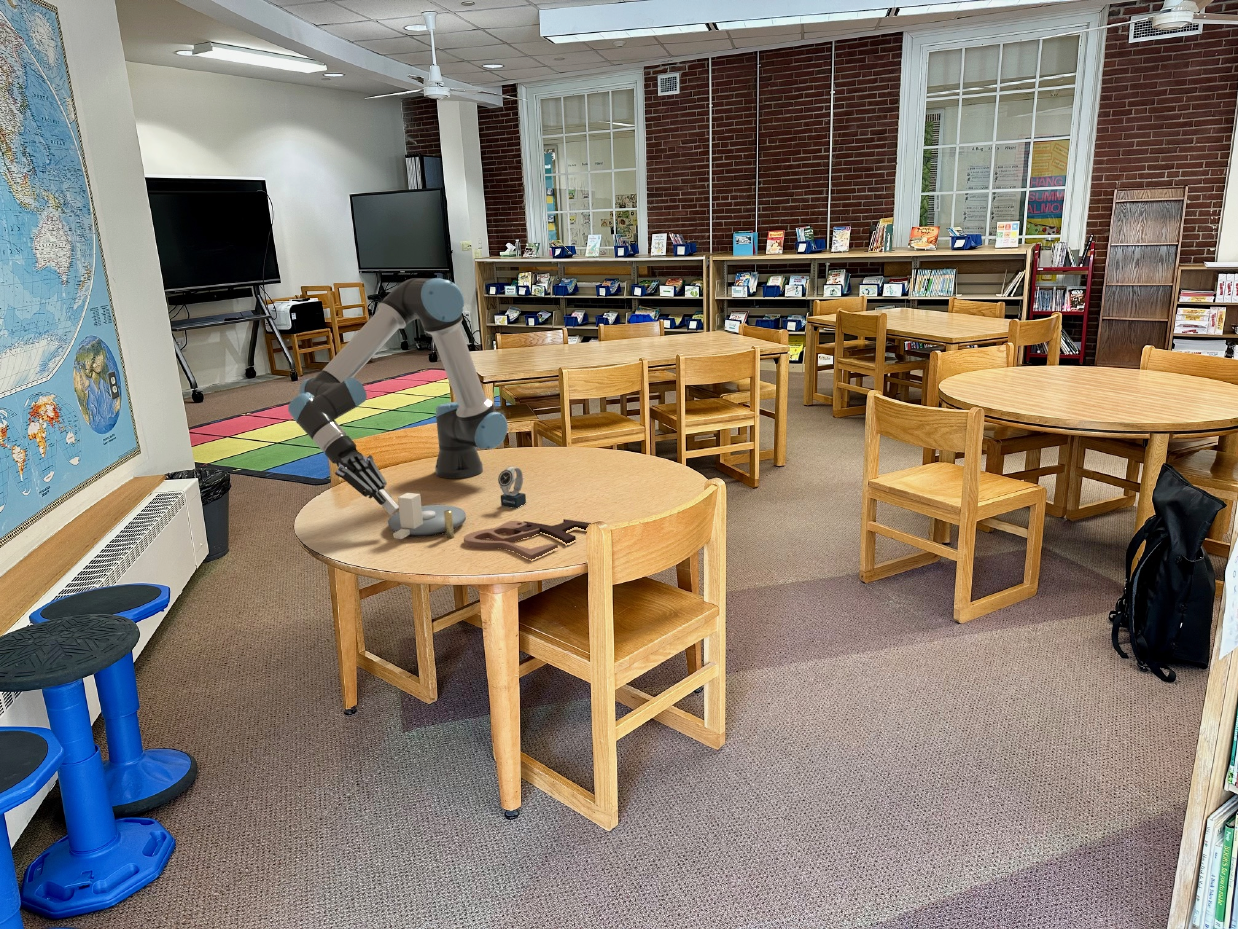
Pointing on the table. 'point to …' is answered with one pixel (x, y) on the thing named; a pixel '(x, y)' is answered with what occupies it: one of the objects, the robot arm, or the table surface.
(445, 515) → the gold domed cylinder
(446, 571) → the table surface
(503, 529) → the wood carving
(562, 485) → the table surface
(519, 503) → the watch
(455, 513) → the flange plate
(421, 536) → the turntable base
